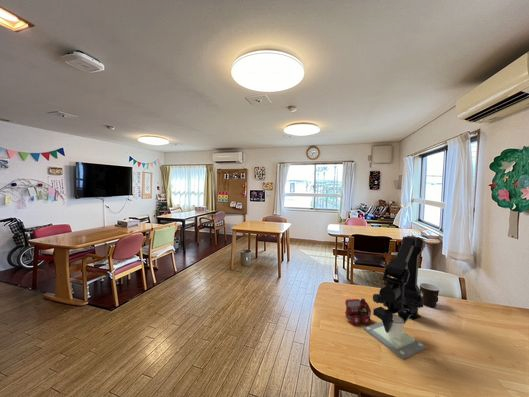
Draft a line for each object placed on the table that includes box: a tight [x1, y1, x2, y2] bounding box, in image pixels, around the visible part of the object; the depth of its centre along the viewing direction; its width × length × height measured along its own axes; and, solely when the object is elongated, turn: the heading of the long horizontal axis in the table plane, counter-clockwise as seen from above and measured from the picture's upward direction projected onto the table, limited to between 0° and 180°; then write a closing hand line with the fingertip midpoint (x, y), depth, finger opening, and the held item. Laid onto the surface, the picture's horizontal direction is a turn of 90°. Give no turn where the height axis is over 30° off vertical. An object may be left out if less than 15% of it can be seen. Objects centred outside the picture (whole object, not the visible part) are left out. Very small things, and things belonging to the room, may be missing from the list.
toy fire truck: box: [344, 298, 372, 326], centre depth 104 cm, size 7×12×10 cm, turn 96°
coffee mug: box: [419, 282, 440, 309], centre depth 118 cm, size 12×9×10 cm
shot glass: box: [386, 314, 405, 339], centre depth 92 cm, size 7×7×7 cm
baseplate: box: [363, 321, 427, 360], centre depth 92 cm, size 14×18×2 cm
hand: (393, 329), depth 92 cm, fingers open, 8 cm apart
